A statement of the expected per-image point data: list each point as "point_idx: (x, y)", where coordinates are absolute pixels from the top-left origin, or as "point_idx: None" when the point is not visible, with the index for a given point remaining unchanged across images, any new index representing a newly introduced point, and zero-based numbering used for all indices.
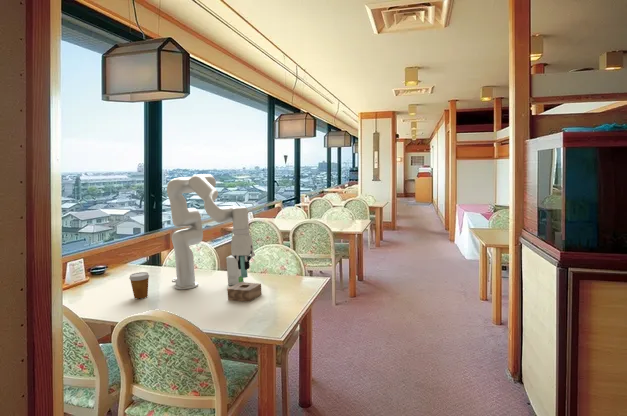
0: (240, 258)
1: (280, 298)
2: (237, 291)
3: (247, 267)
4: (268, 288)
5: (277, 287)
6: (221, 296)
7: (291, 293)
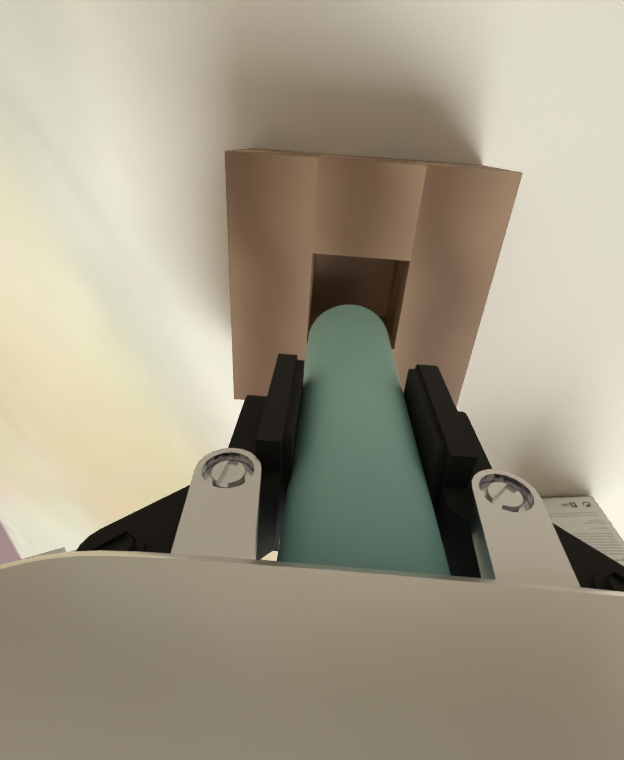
0: (414, 523)
1: (60, 289)
2: (378, 161)
3: (264, 397)
4: None
5: None
6: (579, 251)
7: (62, 400)
